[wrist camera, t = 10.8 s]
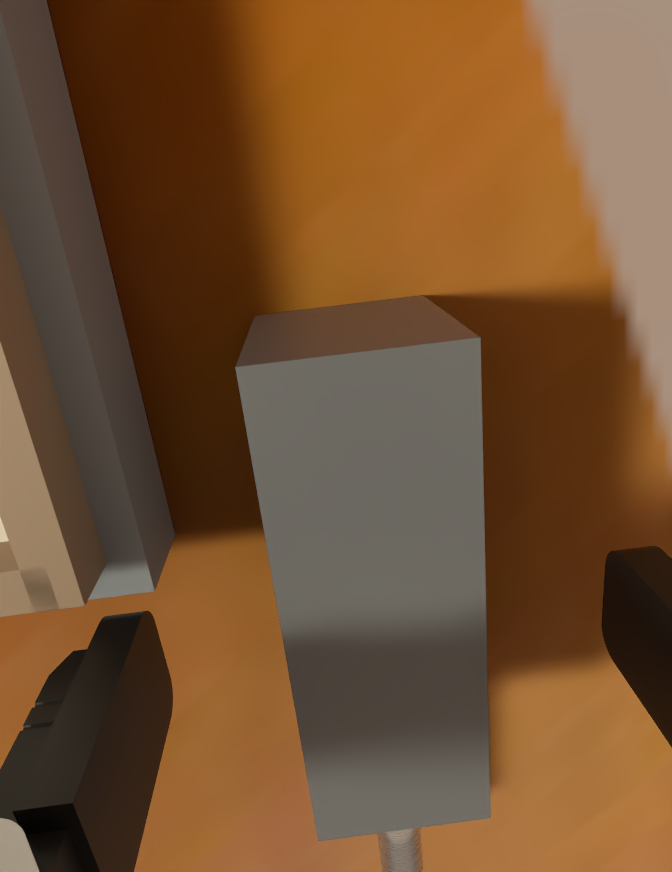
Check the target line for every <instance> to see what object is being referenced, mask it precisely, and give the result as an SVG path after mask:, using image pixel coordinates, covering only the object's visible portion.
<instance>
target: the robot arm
mask: <svg viewBox="0 0 672 872" xmlns="http://www.w3.org/2000/svg"><path fill="white" fill-rule="evenodd" d="M602 632H603V637H604V641H605V644H606V647H607V650H608V652H609V654H610V656H611V658H612V660H613V662H614V663H615V664H616V666H617V667H618V669H619V670H620V672H621V673H622V675H623V676H624V678H625V679H626V681H627V682H628V684H629V685H630V687H631V688H632V689H633V691H634V692H635V694H636V695H637V697H638V698H639V700H640V701H641V703H642V704H643V706H644V707H645V709H646V710H647V712H648V713H649V714H650V716H651V717H652V719H653V720H654V722H655V723H656V725H657V726H658V728H659V729H660V731H661V732H662V734H663V735H664V737H665V738H666V740H667V741H668V742H669V744H670V745H671V747H672V559H671V558H670V557H669V556H668V555H667V554H666V553H665V552H664V551H663V550H661V549H660V548H659V547H657V546H648V547H641V548H633V549H626V550H618V551H611V552H610V553H609V554H608V555H607V558H606V563H605V578H604V593H603V609H602ZM172 706H173V691H172V683H171V678H170V674H169V670H168V667H167V663H166V660H165V656H164V652H163V649H162V645H161V642H160V638H159V635H158V631H157V627H156V624H155V621H154V618H153V616H152V614H151V613H150V612H149V611H143V612H135V613H128V614H120V615H112V616H105V617H104V618H102V620H101V621H100V623H99V625H98V627H97V629H96V631H95V634H94V636H93V638H92V640H91V642H90V644H89V647H88V649H86V650H78V651H73V652H72V653H71V654H70V655H69V656H68V657H67V658H66V659H65V660H64V661H63V662H62V663H61V664H60V665H59V666H58V667H57V668H56V669H55V670H54V671H53V672H52V673H51V674H50V675H49V677H48V678H47V680H46V682H45V684H44V686H43V688H42V690H41V692H40V694H39V696H38V698H37V700H36V702H35V708H32V709H31V711H30V713H29V715H28V717H27V719H26V721H25V723H24V725H23V726H24V729H23V731H20V732H19V734H18V736H17V738H16V740H15V742H14V744H13V746H12V748H11V750H10V752H9V754H8V756H7V758H6V760H5V761H4V763H3V765H2V767H1V769H0V872H134V869H135V864H136V860H137V856H138V852H139V848H140V844H141V840H142V836H143V831H144V827H145V823H146V819H147V815H148V811H149V807H150V803H151V798H152V794H153V790H154V786H155V782H156V778H157V774H158V770H159V765H160V761H161V757H162V753H163V749H164V745H165V741H166V736H167V732H168V728H169V724H170V720H171V715H172Z"/></svg>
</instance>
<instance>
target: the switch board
mask: <svg viewBox="0 0 672 872" xmlns="http://www.w3.org/2000/svg"><path fill="white" fill-rule="evenodd" d="M174 536H175V533H174V529H173V524H172V520H171V516H170V512H169V508H168V504H167V499H166V495H165V491H164V487H163V483H162V479H161V474H160V470H159V466H158V462H157V458H156V454H155V450H154V445H153V441H152V437H151V433H150V429H149V425H148V420H147V416H146V412H145V408H144V404H143V400H142V395H141V391H140V387H139V383H138V379H137V375H136V370H135V366H134V362H133V358H132V354H131V350H130V346H129V341H128V337H127V333H126V329H125V325H124V321H123V316H122V312H121V308H120V304H119V300H118V296H117V291H116V287H115V283H114V279H113V275H112V271H111V266H110V262H109V258H108V254H107V250H106V246H105V242H104V237H103V233H102V229H101V225H100V221H99V217H98V212H97V208H96V204H95V200H94V196H93V192H92V187H91V183H90V179H89V175H88V171H87V167H86V162H85V158H84V154H83V150H82V146H81V142H80V138H79V133H78V129H77V125H76V121H75V117H74V113H73V108H72V104H71V100H70V96H69V92H68V88H67V83H66V79H65V75H64V71H63V67H62V63H61V58H60V54H59V50H58V46H57V42H56V38H55V34H54V29H53V25H52V21H51V17H50V13H49V9H48V4H47V0H0V617H3V616H11V615H19V614H26V613H34V612H42V611H49V610H57V609H65V608H72V607H80V606H85V605H86V603H87V601H88V600H92V599H100V598H107V597H115V596H123V595H130V594H138V593H146V592H154V591H155V589H156V586H157V583H158V581H159V578H160V575H161V572H162V570H163V567H164V564H165V561H166V559H167V556H168V553H169V550H170V548H171V545H172V542H173V539H174Z"/></svg>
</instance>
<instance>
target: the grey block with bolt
mask: <svg viewBox="0 0 672 872" xmlns="http://www.w3.org/2000/svg"><path fill="white" fill-rule="evenodd" d="M235 369H236V374H237V380H238V386H239V392H240V397H241V403H242V409H243V414H244V420H245V426H246V431H247V437H248V443H249V449H250V454H251V460H252V466H253V471H254V477H255V483H256V488H257V494H258V500H259V506H260V511H261V517H262V523H263V528H264V534H265V540H266V545H267V551H268V557H269V563H270V568H271V574H272V580H273V585H274V591H275V597H276V603H277V608H278V614H279V620H280V625H281V631H282V637H283V642H284V648H285V654H286V660H287V665H288V671H289V677H290V682H291V688H292V694H293V699H294V705H295V711H296V717H297V722H298V728H299V734H300V739H301V745H302V751H303V756H304V762H305V768H306V774H307V779H308V785H309V791H310V796H311V802H312V808H313V813H314V819H315V825H316V831H317V836H318V841H324V840H331V839H339V838H346V837H354V836H361V835H368V834H376V833H377V835H378V844H379V852H380V860H381V867H382V871H383V872H422V869H423V857H422V845H421V833H420V827H428V826H435V825H442V824H450V823H457V822H465V821H472V820H479V819H487V818H491V809H490V761H489V714H488V666H487V619H486V571H485V524H484V476H483V429H482V381H481V337H479V336H478V335H477V334H475V333H474V332H473V331H471V330H470V329H468V328H467V327H466V326H464V325H463V324H462V323H460V322H459V321H458V320H456V319H455V318H453V317H452V316H451V315H449V314H448V313H447V312H445V311H444V310H442V309H441V308H440V307H438V306H437V305H436V304H434V303H433V302H432V301H430V300H429V299H427V298H426V297H425V296H423V295H421V296H412V297H404V298H396V299H387V300H379V301H371V302H363V303H354V304H346V305H338V306H329V307H321V308H313V309H304V310H296V311H288V312H280V313H271V314H263V315H255V316H254V319H253V321H252V324H251V327H250V329H249V332H248V335H247V337H246V340H245V343H244V345H243V348H242V351H241V353H240V356H239V359H238V361H237V364H236V367H235Z"/></svg>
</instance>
